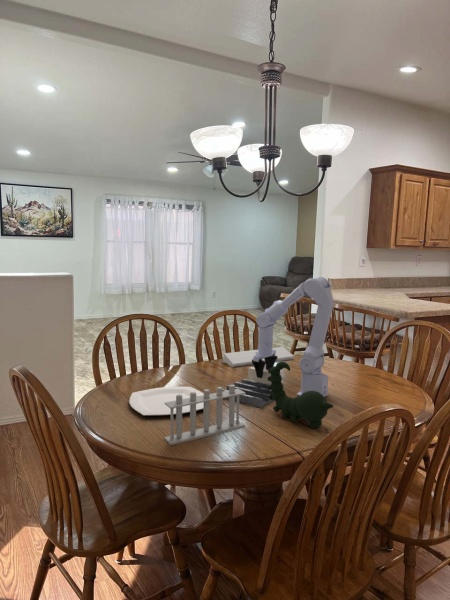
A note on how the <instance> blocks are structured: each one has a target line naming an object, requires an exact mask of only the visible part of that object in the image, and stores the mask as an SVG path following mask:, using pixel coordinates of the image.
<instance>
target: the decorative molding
mask: <svg viewBox="0 0 450 600" xmlns="http://www.w3.org/2000/svg"><path fill="white" fill-rule="evenodd" d="M272 349H273V350H276V355H275V356H278V357H277V360H276V361H275V362H284V361H288V360H290V361H291V360H293V359H294V358H295V355H293V353H291V352H290V351H289V350H288V349H286V348H285V347H284V346H277V347H272ZM256 351H258V349H253V350H252V349H251V350H250V349H249V350H244V351H243V350H241V351H235V352H224V353H223V357H222V363H223V364H227V366H229V367H231V368H234V367H235V368H236V367H243V366H251V365H253V363H252V359H254V356H255V355H256ZM262 360H263V361H264V362H265V359H262Z"/></svg>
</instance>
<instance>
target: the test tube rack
mask: <svg viewBox="0 0 450 600" xmlns="http://www.w3.org/2000/svg"><path fill="white" fill-rule="evenodd" d="M229 385H230V387H229V390H228V391H223V392H222V390H223V389H224V388H223V387H222V386H217V387H216V392H213V393H211V391H210V389H207V388H206V389H203V392H202V393H203V394H204V395H202V396H197V397H196V392H191V393H190V398H186V399H182V395H181V394H178V395H176V401H170V402H165V405H167V406H168V407H169V408H170V409H171V415H170V435H168V436H164V438H163V439H164V441H165V442H166V443H167V444H168V445H170V446H174V445H179V444H182V443H186V442H191V441H195V440H198V439H201V438H202V439H203V438H206V437H211V436H215V435H217V434H218V435H220V434H223V433H227V432H231V431H234V430H237V429H238V430H239V429H242V428H246V424H245V423H243V422H242V421H240V402H239V396H240V395H242V394H246V393H245V392H243V391H241V390H240V389H235V385H234V384H229ZM235 396H237V402H236V401H235ZM227 397H229V400H228V421H227V422H223V399H225V398H227ZM211 401H216V404H215V405H216V406H215V407H216V410H215V411H216V413H215V415H216V416H215V417H216V419H215V420H216V421H215V423H216V424H213V425H210V402H211ZM202 402H204V409H202V410H203V413H202V414H203V421H202V424H203V426H202V427H201V428H198V429H197V411H196V404H197V403H202ZM235 402H236V403H235ZM235 404H236V405H235ZM187 405H190V412H189V431H184V432H183V414H182V406H187ZM235 407H236V409H235ZM174 408H176V415H175V425H176V426H175V433H174V415H173V409H174ZM235 410H236V411H235ZM235 413H236V415H235ZM235 416H236V417H235Z"/></svg>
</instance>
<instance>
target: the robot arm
mask: <svg viewBox="0 0 450 600" xmlns="http://www.w3.org/2000/svg"><path fill="white" fill-rule="evenodd" d="M304 296H308V297H309V298H311V299H312V300H313V301H314V302H315V303H316V305H317V309H316V313H315V317H314V321H313V325H312V329H311V333H310V338H309V341H308V345H307V347H306V348H305V350H304V352H303V356H302V357H301V358H300V359H299V361H298V366H299V369H300V370H301V374H300V375H301V377H300V378H301V379H300V391H299V392H297V393H296V396H298V397H300V396H301V395H302V394H303V393H304V392H307V391H317V392H319V393H321V394H322V395H323V396H324V397H327V396H329V393H328V390H329V388H328V387H329V377H328V374H326V373H323V372H322V367H323V366H324V364H325V358H324V355H325V351H324V344H325V342H326V341H325V340H326V336H327V332H328V328H329V324H330V321H331V318H332V313H333V309H334V306H335V301H334V296H333V293H332V284H330V282H329V281H328V279H326V277H322V276H321V277H320V276H319V277H314V278H312V277H311V278H308V279H306V280H305V281H304V282H302V283H300V284H299V285H298V286H297V287H296V288H295V289H293V291H292V292H290V294H288V295H287V296H286V297H285V298H284V299H283V300H281V299H279V300H275V301H273V302H272V305H271V306H269V307H268V308H265V309H264V312H260V313H258V315H257V316H256V320H255V322H256V324H257V326H258V333H257V334H258V336H257V350H258V351H256V355H255V356H254V359H252V363H253V364H252V365H253V367H255V371H256V375H257V377H258V378H262V377H263V370H264V369H265V370H269V369H271V368H272V367H274V366H275V363H276V362H277V361H276V360H277V357H278V356H275V355H276V350H273V349H272V348H273V340H274V339H273V338H274V337H273V336H274V325H275V324H277V323H276V322H277V321H278V320H279V319H280V318H282V317H283V316H285V315H286V314H287V313H288V312H289V307H291V306H292V305H293V304H295V303H296V302H297V301H299V300H300V299H302V298H303V297H304ZM262 359H265V362H264V361H263V360H262Z"/></svg>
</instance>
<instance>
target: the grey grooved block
mask: <svg viewBox="0 0 450 600" xmlns="http://www.w3.org/2000/svg"><path fill="white" fill-rule="evenodd" d="M230 385H231V384H228V385H226V389H225V388H222V389H223V390H222V392H223V391H228V390H229V387H230ZM233 385H235V389H240V390H241V391H243V392H245V393H246V394H242V395H240V396H239V404H240V403H241V404H243V405H248V406H252V407H256V408H259V409H262V408H264V407H265V406H267V405H269V404H270V403H273V402H274V400H270V399H269V395H272V390H268V386H271V385H269V384H265V383H260V382H256V381H251V380H248V378H247V379H246V378H241V379H240V382H238V381H234V382H233ZM224 400H228V401H229V397H227V398H224ZM235 402H236V403H237V396H235Z"/></svg>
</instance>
